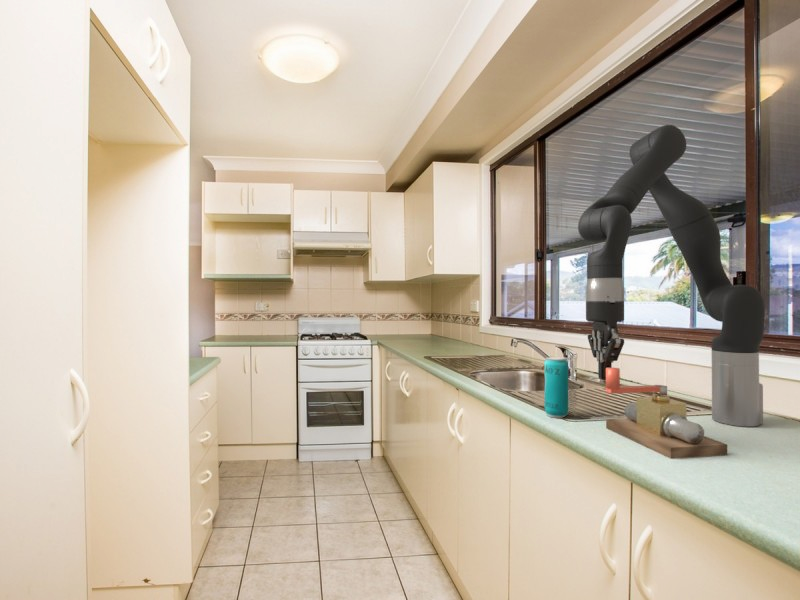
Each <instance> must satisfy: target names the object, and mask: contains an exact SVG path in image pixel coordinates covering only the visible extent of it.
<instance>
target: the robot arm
mask: <svg viewBox="0 0 800 600" xmlns="http://www.w3.org/2000/svg"><path fill="white" fill-rule="evenodd" d="M686 139H687V138H686V136H685V135H684V133H683V132H682V130H681V129H680V128H679V127H677V126H676V125H673V124H665V125H662V126H659V127H658V128H656V129H654V130H652V131H650V132H648V134H646V135H644V136H643V137H641V138H639V139H638V140H637V141H635V142H633V143H632V145H631V146H630V149H629V157H630V161H631V164H632V166H631V167H630V168H628V169H627V171H625V172H623V174H622V175H621V176H620V177H618V179H616V181H615V182H614V183H613V184H612V186H611V187H610V188H609V190H608V191H607V193H606V194H605V195H604V196H602V197H601V198H599V199H597V200H596V201H595V202H594V203H592V204H591V205H590V206H588V207H587V209H585V210H584V211H583V212H582V214H581V215H580V217H579V220H578V223H577V229H578V234H579V235H580V237H581V238H582V239H583V240H585V241H586V242H587V241H588V242H593V243H594V242H601V241H602V242H603V241H605V243H604V245H603V246H602V248H601V249H599V250H597V251H593V252H590V253H589V254H588V255H587V258H586V286H585V320H586V321H587V322H590V323H591V322H593V324H592V328H591V329H592V330H591V331H592V332H591V334H587V340H588V344H589V347H590V351H591V353H592V356H593V358H595V359H596V361H597V362H598V370H597V371H598V372H597V373H598V374H597V375H598V379H599V380H602V381H606V368H608V367H612V365H613V364H612V363H614V362H616V361H618V360H619V356H620V355H621V352H622V349H623V347H624V344H625V339H624V338H619V329H618V323H622V322H624V320H625V287H624V280H623V277H624V276H623V273H624V272H623V259H624V255H625V252H626V247H627V243H628V240H629V237H630V234H631V230H632V225H633V223H632V216H631V214H632V213H633V212H634V211H635V210H636V208H638V206H639V204H640V203H641V201H643V198H644V197H645V195H646V194H647V193H648V192H649V193H650V195H651V196H652V198H653V199H654V201H655V203H656V205H657V206H658V209H659V211H660V213H661V215H662V217H663V218H664V221H665V223H666V226H667V227H668V230H669V231H670V234H671V236H672V238H673V240H674V242H675V243H676V246H677V247H678V249H679V251H680V253H681V255H682V257H683V259H684V261H685V263H686V265H687V267H688V270H689V271H690V273H691V275H692V278H693V280H694V283H695V286H696V288H697V291H698V294H699V297H700V300H701V302H702V304H703V307H704V309H705V311H706V314H708V315H709V316H710V317H711V318H712V319H713V320H715V321H717V322H721V331H720V333H719V334H718V335H717V336H715V337H713V338H712V339H711V419H712V420H713V421H715V422H718V423H721V424H725V425H731V426H735V427H736V426H738V427H758V426H760V425H764V386H763V384H762V383H761V382H760V346H761V343H762V341H763V339H764V335H765V334H764V331H765V316H766V315H765V311H766V310H765V309H766V308H765V307H766V305H765V301H764V300H765V299H764V297H763V295H762V293H761V292H760V291H759V289H758V288H755V287H754V286H752V285H749V284H748V285H747V284H732V282H731V280H730V279H729V276H728V275H727V273H726V271H725V269H724V267H723V264H722V259H721V258H722V257H721V249H722V248H721V246H722V245H721V244H722V239H721V233H720V229H719V226H718V224H717V223H716V221H715V218H714V217H713V216H714V215H712V212H711V211H710V209H709V207H708V206H707V205H706V204H705V203H703V202H702V201H700V200H699V199H697V198H696V197H695V196H693V195H690V194H689V193H687V192H686V191H685V192H684V191H683V190H682V189H679V188H678V187H677V186H675V185H674V184H673V182H671V179H669V177H668V175H666V172H667V170H668V169H669V168H670V167H672V165H674V164H675V163H676V162H678V160H680V159H681V158H682V157H683V156H684V154H685V152H686V149H687V140H686ZM612 368H613V367H612Z"/></svg>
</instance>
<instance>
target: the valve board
mask: <svg viewBox="0 0 800 600" xmlns="http://www.w3.org/2000/svg"><path fill="white" fill-rule="evenodd" d="M624 416H625V417H626V418H613V419H606V420H605V423H606V424H605V427H606V429H607V430H609V431H610V432H611V431H612V432H613V433H615V434H617V435H620V436H622V437H624V438H627V439H628V440H630V441H633V442H635V443H636V444H639V445H642V446H643V447H646V448H648V449H650V450H652V451H654V452H656V453H658V454H661V455H663V456H665V457H666V458H669V459H683V458H699V457H715V456H727V455H728V444H727V443H724V442H722V441H718V440H715V439H714V438H711V437H708V436H705V430H704V428H703V426H702V425H701V424H699V423H696V422H693V421H691V420H688V419H687V403H686V402H683V401H679V400H675V399H673V398H670V395H668V394H667V395H657V394H654V393H652V394H651V396H637V397H636V402H634V401H633V402H629V403H628V404H627V405H626V406H625V407H624Z"/></svg>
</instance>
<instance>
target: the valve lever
mask: <svg viewBox="0 0 800 600" xmlns="http://www.w3.org/2000/svg"><path fill="white" fill-rule="evenodd" d="M620 372H621V371H620V368H618V367H608V368H606V380H605V392H606V393H608V394H631V393H632V394H634V393H653V394H657V395H668V386H667V385H663V384H654V385H653V384H651V385H649V384H648V385H627V386H626V385H623V386H622V385H621V384H620V383H621V380H620V379H621V378H620V376H621V373H620ZM620 385H621V386H620Z"/></svg>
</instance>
